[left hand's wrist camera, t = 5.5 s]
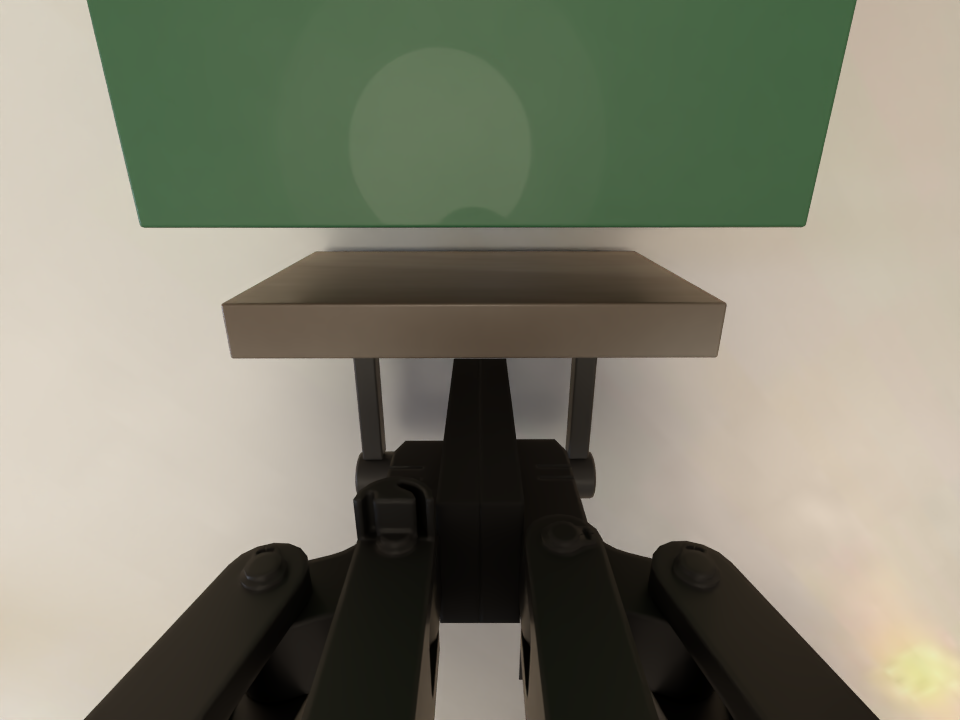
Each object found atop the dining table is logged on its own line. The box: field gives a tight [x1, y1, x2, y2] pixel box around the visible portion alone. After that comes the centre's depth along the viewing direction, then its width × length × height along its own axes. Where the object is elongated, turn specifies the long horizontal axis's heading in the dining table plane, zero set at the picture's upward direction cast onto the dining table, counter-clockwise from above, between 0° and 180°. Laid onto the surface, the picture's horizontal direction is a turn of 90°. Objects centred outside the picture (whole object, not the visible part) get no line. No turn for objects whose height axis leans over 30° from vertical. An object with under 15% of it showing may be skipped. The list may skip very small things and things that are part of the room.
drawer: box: [222, 251, 727, 498], centre depth 11 cm, size 25×10×6 cm, turn 0°
